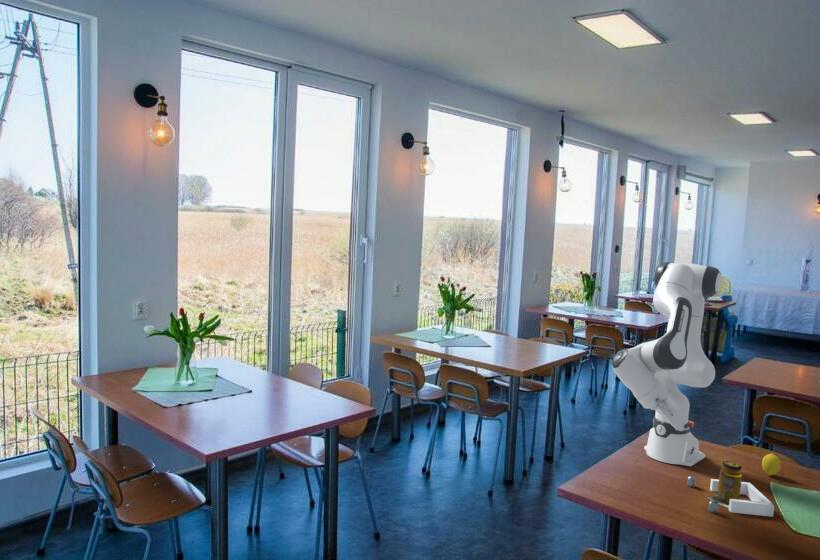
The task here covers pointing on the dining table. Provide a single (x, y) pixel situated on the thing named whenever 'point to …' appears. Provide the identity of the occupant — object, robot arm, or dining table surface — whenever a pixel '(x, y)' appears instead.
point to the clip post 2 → (713, 507)
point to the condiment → (728, 483)
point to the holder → (754, 507)
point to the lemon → (771, 464)
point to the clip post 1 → (691, 481)
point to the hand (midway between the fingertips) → (681, 428)
